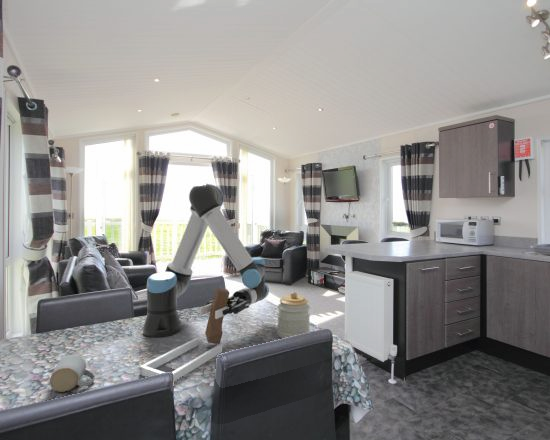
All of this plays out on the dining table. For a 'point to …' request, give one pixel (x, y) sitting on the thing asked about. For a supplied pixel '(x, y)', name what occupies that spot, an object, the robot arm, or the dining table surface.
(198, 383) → the dining table surface
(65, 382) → the ceramic mug
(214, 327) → the wooden block
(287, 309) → the jar
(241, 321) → the dining table surface
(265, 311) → the dining table surface
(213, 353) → the channel
